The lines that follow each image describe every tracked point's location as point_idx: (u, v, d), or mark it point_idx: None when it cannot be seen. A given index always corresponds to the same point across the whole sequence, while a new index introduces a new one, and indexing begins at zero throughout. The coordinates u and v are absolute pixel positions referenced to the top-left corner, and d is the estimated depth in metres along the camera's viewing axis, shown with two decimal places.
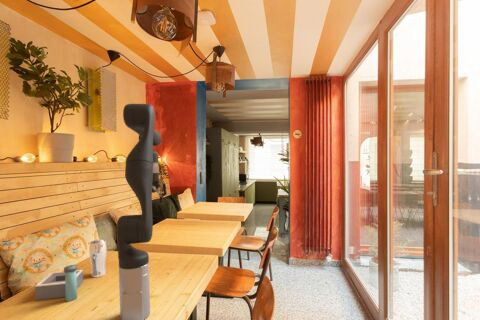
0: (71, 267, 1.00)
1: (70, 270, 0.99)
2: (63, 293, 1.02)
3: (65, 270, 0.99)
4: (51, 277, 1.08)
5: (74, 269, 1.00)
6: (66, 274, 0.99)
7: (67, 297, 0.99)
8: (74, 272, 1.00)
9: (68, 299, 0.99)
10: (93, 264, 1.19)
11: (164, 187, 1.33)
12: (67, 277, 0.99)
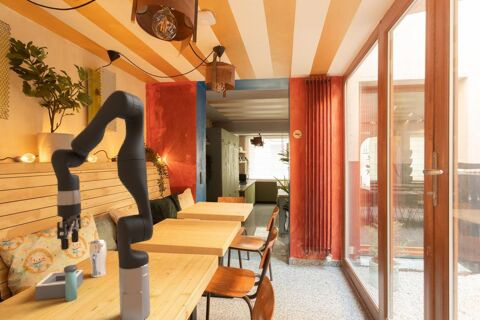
0: (71, 267, 1.00)
1: (70, 270, 0.99)
2: (63, 293, 1.02)
3: (65, 270, 0.99)
4: (51, 277, 1.08)
5: (74, 269, 1.00)
6: (66, 274, 0.99)
7: (67, 297, 0.99)
8: (74, 272, 1.00)
9: (68, 299, 0.99)
10: (93, 264, 1.19)
11: (80, 219, 1.07)
12: (67, 277, 0.99)
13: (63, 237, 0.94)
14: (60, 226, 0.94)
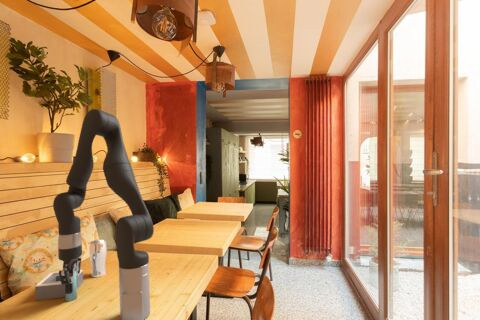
0: None
1: None
2: (63, 293, 1.02)
3: None
4: (51, 277, 1.08)
5: None
6: None
7: (67, 297, 0.99)
8: None
9: (68, 299, 0.99)
10: (93, 264, 1.19)
11: (80, 262, 1.06)
12: None
13: (67, 282, 0.96)
14: (62, 275, 0.94)
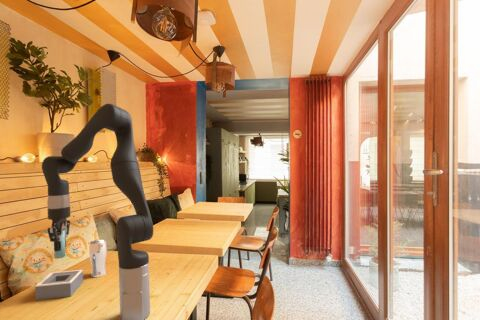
0: None
1: None
2: (63, 293, 1.02)
3: None
4: (51, 277, 1.08)
5: None
6: None
7: (56, 254, 1.05)
8: None
9: (57, 256, 1.05)
10: (93, 264, 1.19)
11: (69, 225, 1.13)
12: None
13: (56, 240, 1.03)
14: (51, 232, 1.01)
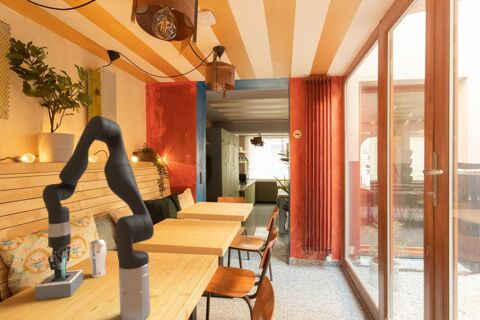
0: None
1: None
2: (63, 293, 1.02)
3: None
4: (51, 277, 1.08)
5: None
6: None
7: None
8: (63, 259, 1.07)
9: None
10: (93, 264, 1.19)
11: (69, 251, 1.13)
12: None
13: (56, 268, 1.02)
14: (51, 261, 1.01)
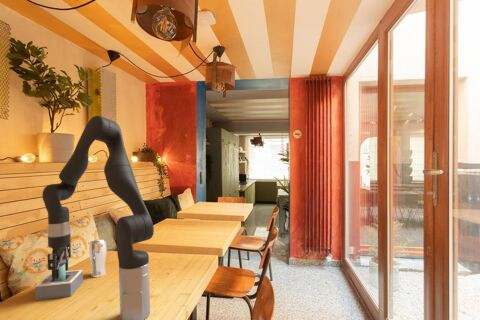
0: None
1: None
2: (63, 293, 1.02)
3: None
4: (51, 277, 1.08)
5: (63, 263, 1.06)
6: None
7: None
8: (63, 265, 1.07)
9: None
10: (93, 264, 1.19)
11: (69, 248, 1.14)
12: None
13: (53, 268, 1.01)
14: (50, 258, 1.00)
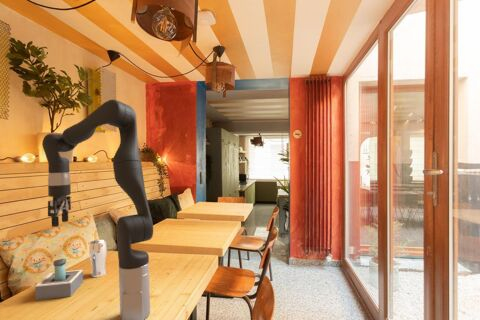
0: (60, 261, 1.07)
1: (59, 263, 1.05)
2: (63, 293, 1.02)
3: (54, 263, 1.05)
4: (51, 277, 1.08)
5: (63, 263, 1.06)
6: (55, 267, 1.05)
7: None
8: (63, 265, 1.07)
9: None
10: (93, 264, 1.19)
11: (69, 200, 1.15)
12: (57, 270, 1.05)
13: (53, 214, 1.01)
14: (51, 204, 1.01)
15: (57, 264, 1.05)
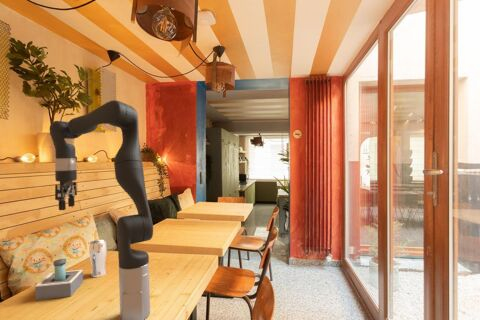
0: (60, 261, 1.07)
1: (59, 263, 1.05)
2: (63, 293, 1.02)
3: (54, 263, 1.05)
4: (51, 277, 1.08)
5: (63, 263, 1.06)
6: (55, 267, 1.05)
7: None
8: (63, 265, 1.07)
9: None
10: (93, 264, 1.19)
11: (75, 186, 1.19)
12: (56, 270, 1.05)
13: (60, 198, 1.05)
14: (58, 188, 1.05)
15: (57, 264, 1.05)
